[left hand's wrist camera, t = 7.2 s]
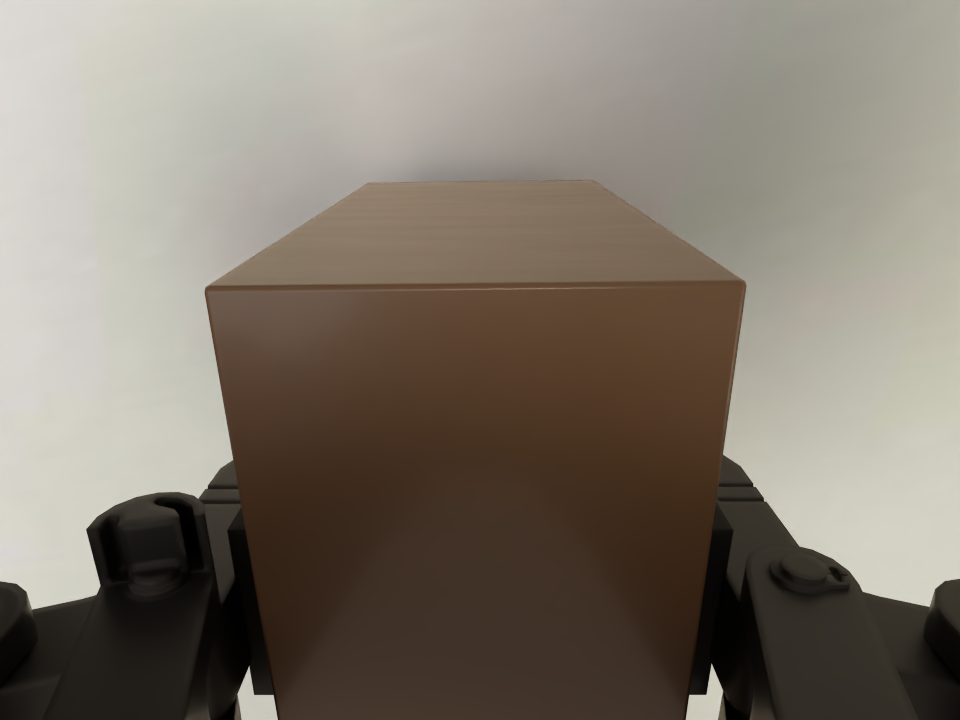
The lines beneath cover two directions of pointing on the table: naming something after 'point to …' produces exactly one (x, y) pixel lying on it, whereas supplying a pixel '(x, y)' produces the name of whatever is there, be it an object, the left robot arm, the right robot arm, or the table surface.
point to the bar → (478, 451)
